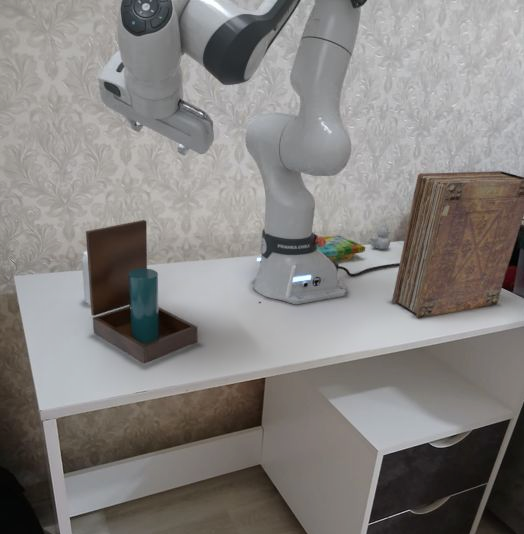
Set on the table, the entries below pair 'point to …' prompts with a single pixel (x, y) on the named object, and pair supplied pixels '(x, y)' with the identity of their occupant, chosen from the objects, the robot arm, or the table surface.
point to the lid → (114, 263)
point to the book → (459, 241)
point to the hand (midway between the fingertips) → (160, 139)
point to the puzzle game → (340, 248)
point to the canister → (144, 305)
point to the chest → (170, 339)
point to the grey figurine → (381, 238)
